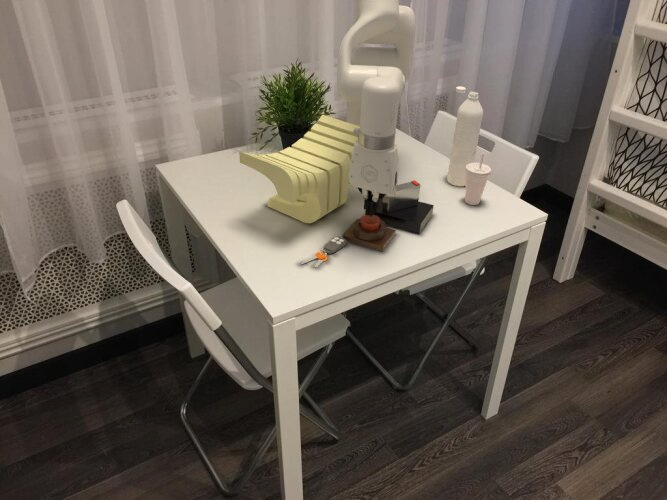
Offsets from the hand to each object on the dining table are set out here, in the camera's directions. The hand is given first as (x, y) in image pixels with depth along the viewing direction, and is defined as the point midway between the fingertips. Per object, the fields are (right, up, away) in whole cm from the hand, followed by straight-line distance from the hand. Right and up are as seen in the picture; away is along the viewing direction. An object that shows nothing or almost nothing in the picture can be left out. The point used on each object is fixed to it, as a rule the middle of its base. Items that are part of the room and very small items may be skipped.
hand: (370, 213), depth 134 cm
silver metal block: (+8, +2, +10) cm, 12 cm away
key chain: (-10, -10, -3) cm, 14 cm away
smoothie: (+28, +4, +20) cm, 34 cm away
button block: (0, -6, +3) cm, 6 cm away
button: (0, -3, +2) cm, 3 cm away
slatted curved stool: (-15, +2, +14) cm, 21 cm away
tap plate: (+8, 0, +11) cm, 14 cm away
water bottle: (+25, +11, +30) cm, 40 cm away
